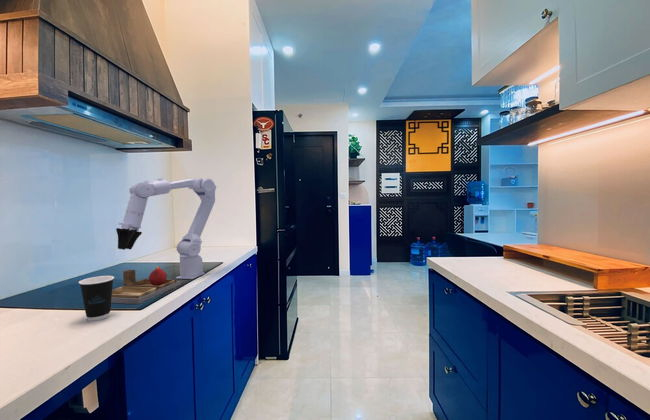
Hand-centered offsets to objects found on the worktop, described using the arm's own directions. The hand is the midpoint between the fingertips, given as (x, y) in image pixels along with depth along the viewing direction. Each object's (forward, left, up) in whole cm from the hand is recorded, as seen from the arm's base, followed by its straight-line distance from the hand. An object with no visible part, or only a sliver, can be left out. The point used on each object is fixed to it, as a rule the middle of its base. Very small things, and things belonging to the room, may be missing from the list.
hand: (124, 249), depth 105 cm
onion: (-4, +10, -15) cm, 19 cm away
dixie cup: (+22, +13, -16) cm, 30 cm away
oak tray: (+6, +6, -16) cm, 18 cm away
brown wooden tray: (+1, +8, -16) cm, 17 cm away
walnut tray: (-4, +6, -16) cm, 17 cm away
